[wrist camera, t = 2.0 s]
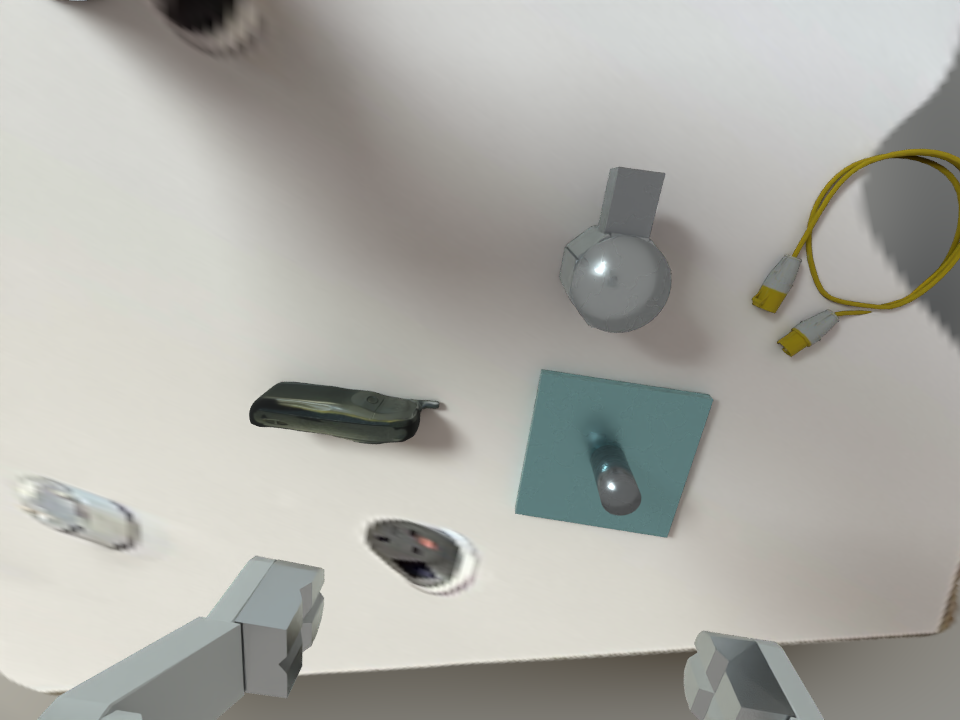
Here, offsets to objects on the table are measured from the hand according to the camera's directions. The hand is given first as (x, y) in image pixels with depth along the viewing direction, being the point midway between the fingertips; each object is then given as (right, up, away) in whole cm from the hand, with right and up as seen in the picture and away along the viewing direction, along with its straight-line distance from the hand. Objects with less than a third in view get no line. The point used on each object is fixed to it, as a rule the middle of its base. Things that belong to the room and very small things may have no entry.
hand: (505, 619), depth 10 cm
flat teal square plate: (+11, -3, +31) cm, 33 cm away
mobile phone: (-12, +2, +32) cm, 34 cm away
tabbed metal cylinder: (+9, +14, +25) cm, 31 cm away
